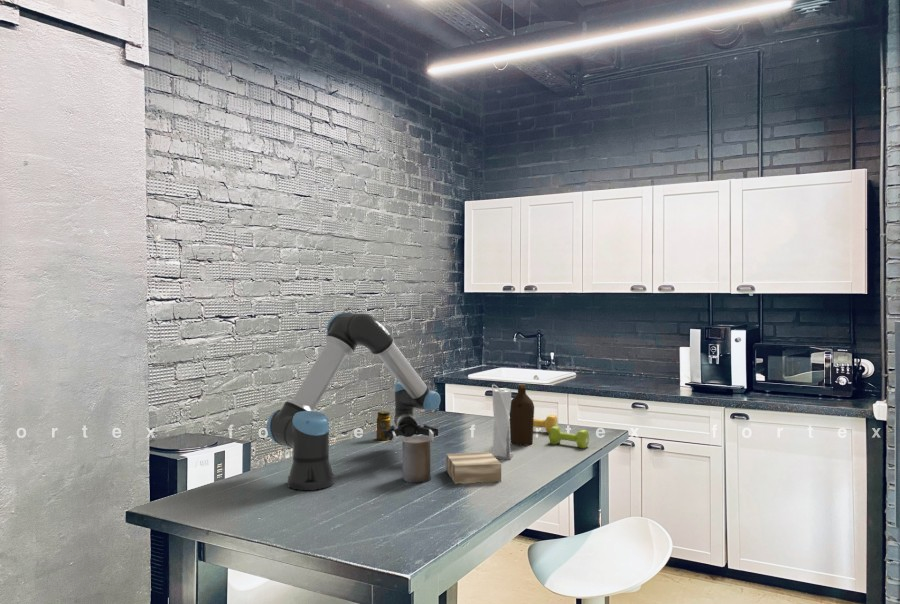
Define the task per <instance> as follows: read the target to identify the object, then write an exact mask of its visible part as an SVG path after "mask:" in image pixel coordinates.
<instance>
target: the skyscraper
mask: <svg viewBox="0 0 900 604" xmlns="http://www.w3.org/2000/svg"><path fill="white" fill-rule="evenodd" d="M494 387H495V388H496V389H497V390H496V389H495V390H494ZM491 390H492V410H493V419H494V420H493V421H494V424H493V437H492V438H493V439H492V447H493V451H492V452H493V454H492V455H493V456H494V457H495V458H499V459H498V460H507V459H509V460H512V458H513V457H514V456H513V455H514V454H513V453H511V442H510V408H511V400H512V390H511V389H510V388H507V387H502V388H501V387H500V388H499V386H497V385H496V384H495V383H494V384H492V385H491Z"/></svg>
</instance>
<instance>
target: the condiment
mask: <svg viewBox="0 0 900 604" xmlns="http://www.w3.org/2000/svg"><path fill="white" fill-rule="evenodd" d="M376 417H377V418H376V438H373V439H371V440H369V442H376V443H384V444H385V443H387V442H390V441H393V439H392V440H389V437H388V438H384V431H385V430H387V429H389V428H390V427H391V426H392V425H391V424H392V423H391V418H390V417H391V413H390V411H385V410H384V411H382V410H381V411H378V412H377V416H376Z"/></svg>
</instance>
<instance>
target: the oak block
mask: <svg viewBox="0 0 900 604" xmlns="http://www.w3.org/2000/svg"><path fill="white" fill-rule="evenodd" d="M445 456H446V463H445V464H446V465H445V467H446V469H445V470H446V472H447V474H448V475H449V478H452V479H451V480H452V482H453V481H454V482H453V483H454V484H455V485H457V483H462V484H475V483H476V482H481V483H496V482H495V481H500V482H502V462H500V461H499V459H496V458H495V457H494V456H493V454H492V453H491V452H490V451H487V452H485V451H484V452H483V451H481V452H465V453H464V452H461V453H446V455H445ZM476 484H477V483H476Z"/></svg>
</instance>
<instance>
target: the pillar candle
mask: <svg viewBox="0 0 900 604" xmlns="http://www.w3.org/2000/svg"><path fill="white" fill-rule="evenodd" d="M431 471H432V470H431V439H430V438H429V436H424V435H422V436H419V435H416V436H415V435H413V436H411V437H404V438H402V479H403V480H404V481H405V482H407V483H413V484H415V483H416V484H417V483H423V482H428V481H430V480H431V479H432V477H431Z"/></svg>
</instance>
